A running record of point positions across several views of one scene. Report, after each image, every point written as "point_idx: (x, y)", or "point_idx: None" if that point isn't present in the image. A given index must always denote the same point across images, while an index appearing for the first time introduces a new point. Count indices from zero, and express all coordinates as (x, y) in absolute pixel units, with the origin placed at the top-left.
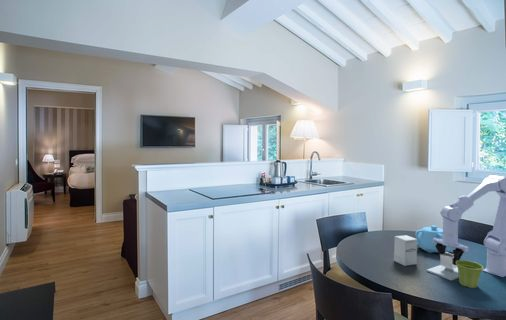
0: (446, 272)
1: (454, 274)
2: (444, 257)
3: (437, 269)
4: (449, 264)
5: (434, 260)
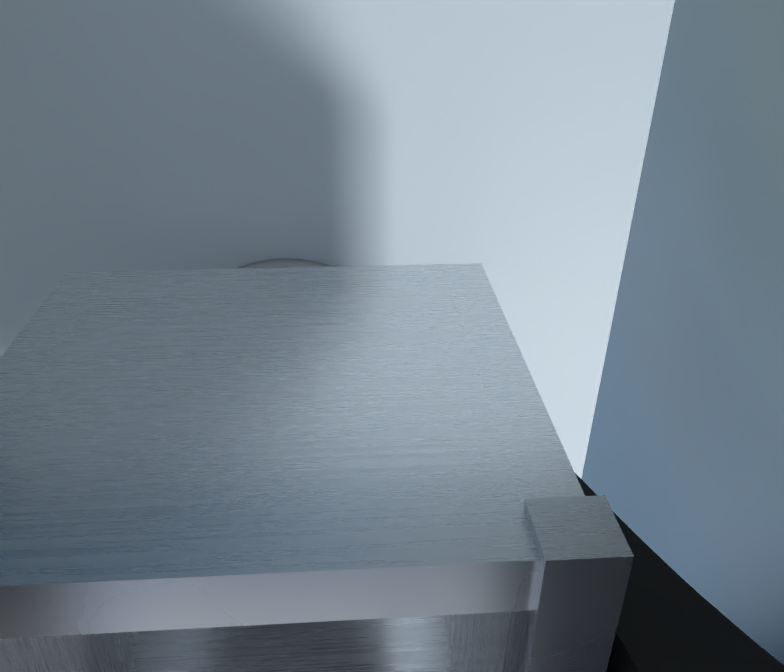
0: (229, 163)
1: (27, 218)
2: (346, 489)
3: (494, 150)
4: (122, 339)
5: (765, 611)
